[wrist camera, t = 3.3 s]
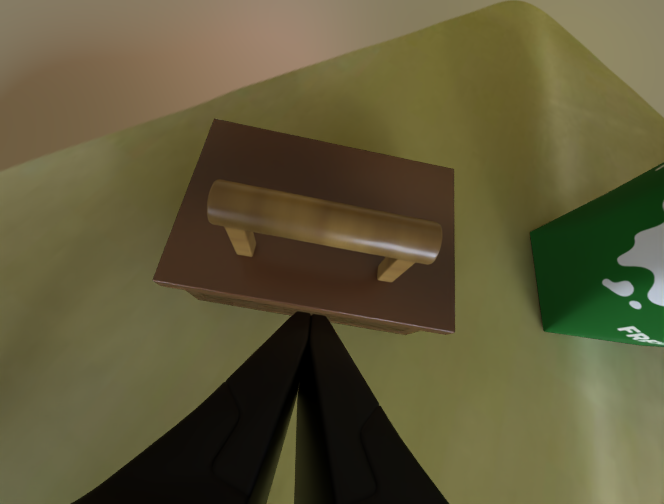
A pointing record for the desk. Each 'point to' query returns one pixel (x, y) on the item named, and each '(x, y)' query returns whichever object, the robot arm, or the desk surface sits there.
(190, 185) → the tea lid
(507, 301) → the desk surface
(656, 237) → the milk carton
